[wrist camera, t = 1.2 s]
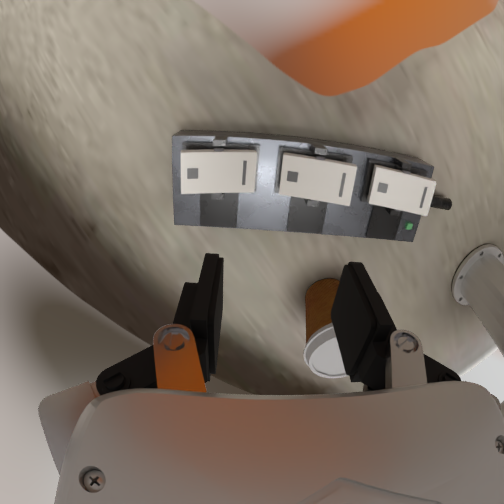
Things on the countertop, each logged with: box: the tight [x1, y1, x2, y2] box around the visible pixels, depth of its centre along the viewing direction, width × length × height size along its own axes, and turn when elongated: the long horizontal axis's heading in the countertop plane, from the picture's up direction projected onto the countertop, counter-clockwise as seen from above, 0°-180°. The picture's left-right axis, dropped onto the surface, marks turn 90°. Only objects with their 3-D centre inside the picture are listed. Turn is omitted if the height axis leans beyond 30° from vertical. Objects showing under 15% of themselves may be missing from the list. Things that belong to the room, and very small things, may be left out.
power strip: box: [172, 130, 452, 242], centre depth 31 cm, size 35×10×6 cm, turn 86°
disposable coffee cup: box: [303, 279, 349, 378], centre depth 38 cm, size 10×10×12 cm
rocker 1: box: [181, 148, 257, 194], centre depth 27 cm, size 7×4×1 cm, turn 86°
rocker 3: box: [367, 164, 437, 216], centre depth 28 cm, size 7×4×1 cm, turn 86°
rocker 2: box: [279, 153, 357, 206], centre depth 28 cm, size 7×4×1 cm, turn 86°
